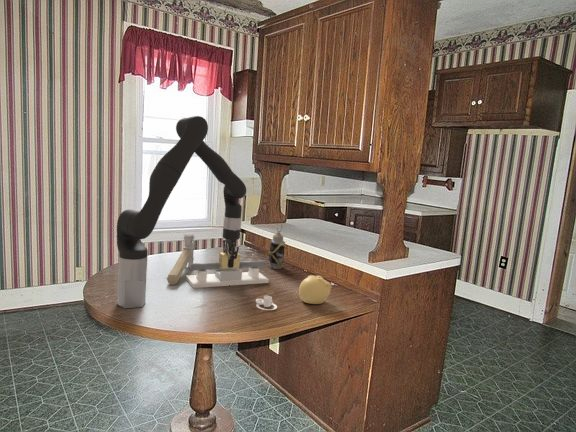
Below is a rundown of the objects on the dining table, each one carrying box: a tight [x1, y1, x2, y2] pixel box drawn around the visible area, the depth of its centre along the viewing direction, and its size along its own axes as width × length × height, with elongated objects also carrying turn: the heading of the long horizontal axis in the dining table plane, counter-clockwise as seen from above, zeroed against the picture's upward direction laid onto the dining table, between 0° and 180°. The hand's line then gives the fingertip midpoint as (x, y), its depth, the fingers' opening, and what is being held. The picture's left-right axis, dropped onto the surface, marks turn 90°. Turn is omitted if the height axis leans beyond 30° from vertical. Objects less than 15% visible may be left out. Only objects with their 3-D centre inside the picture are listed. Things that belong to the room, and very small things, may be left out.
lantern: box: [267, 218, 287, 270], centre depth 207 cm, size 9×8×25 cm
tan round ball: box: [298, 274, 332, 305], centre depth 164 cm, size 11×12×11 cm
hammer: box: [166, 232, 195, 286], centre depth 182 cm, size 16×5×30 cm
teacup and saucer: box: [255, 295, 278, 311], centre depth 156 cm, size 9×8×4 cm
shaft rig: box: [185, 260, 270, 289], centre depth 180 cm, size 12×34×8 cm, turn 118°
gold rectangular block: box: [218, 252, 241, 269], centre depth 179 cm, size 4×8×6 cm, turn 118°
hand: (228, 265), depth 179 cm, fingers closed on gold rectangular block, 4 cm apart
